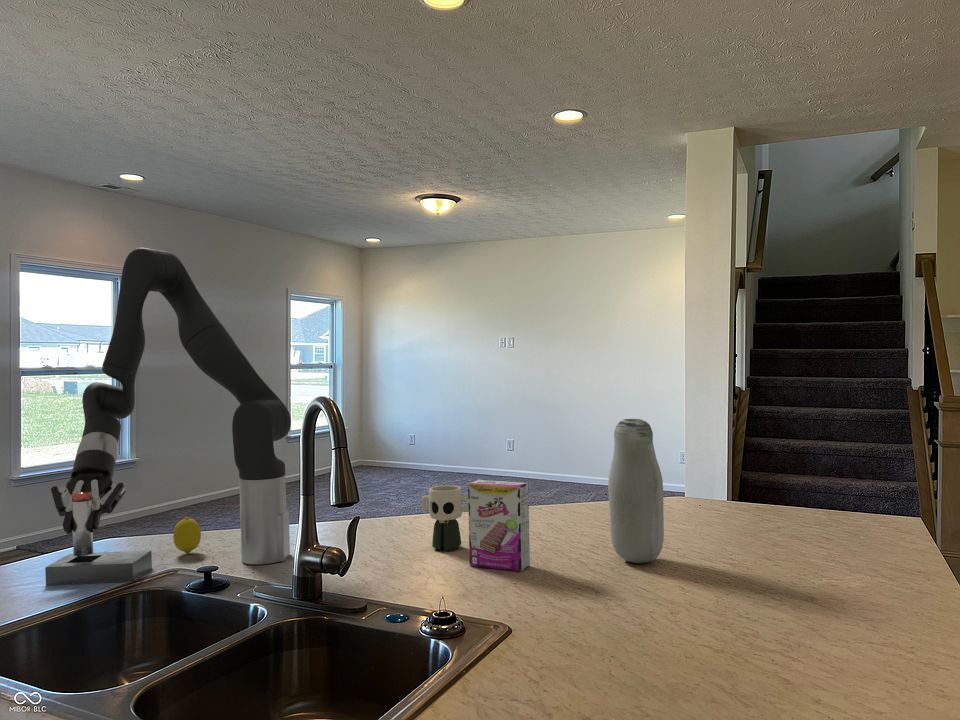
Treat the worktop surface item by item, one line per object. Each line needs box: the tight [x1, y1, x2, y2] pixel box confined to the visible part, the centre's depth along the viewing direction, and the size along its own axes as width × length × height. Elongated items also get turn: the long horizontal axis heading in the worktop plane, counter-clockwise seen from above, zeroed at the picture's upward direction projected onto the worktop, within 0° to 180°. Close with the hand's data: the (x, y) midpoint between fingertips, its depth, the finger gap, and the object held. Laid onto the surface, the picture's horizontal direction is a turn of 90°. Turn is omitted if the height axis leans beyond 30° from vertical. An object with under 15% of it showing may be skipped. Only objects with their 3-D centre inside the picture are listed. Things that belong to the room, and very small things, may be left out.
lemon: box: [172, 516, 202, 555], centre depth 155 cm, size 6×6×8 cm
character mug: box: [421, 484, 469, 551], centre depth 154 cm, size 11×7×13 cm, turn 74°
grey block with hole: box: [44, 549, 153, 586], centre depth 140 cm, size 16×9×4 cm, turn 94°
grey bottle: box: [607, 418, 665, 564], centre depth 141 cm, size 10×10×28 cm
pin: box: [72, 491, 94, 556], centre depth 140 cm, size 3×3×12 cm
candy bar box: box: [467, 479, 531, 572], centre depth 140 cm, size 11×5×16 cm, turn 65°
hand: (79, 530), depth 138 cm, fingers closed on pin, 3 cm apart
